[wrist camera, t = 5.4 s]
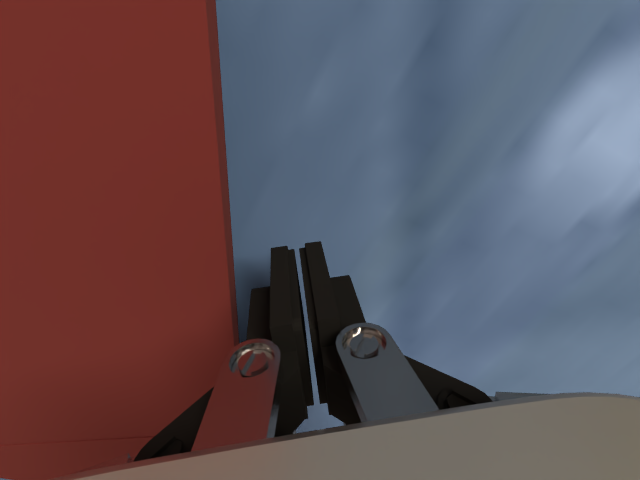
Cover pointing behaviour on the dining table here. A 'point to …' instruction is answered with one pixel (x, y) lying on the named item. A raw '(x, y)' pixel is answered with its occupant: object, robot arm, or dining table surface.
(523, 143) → the dining table surface
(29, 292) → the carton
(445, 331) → the dining table surface
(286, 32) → the dining table surface
